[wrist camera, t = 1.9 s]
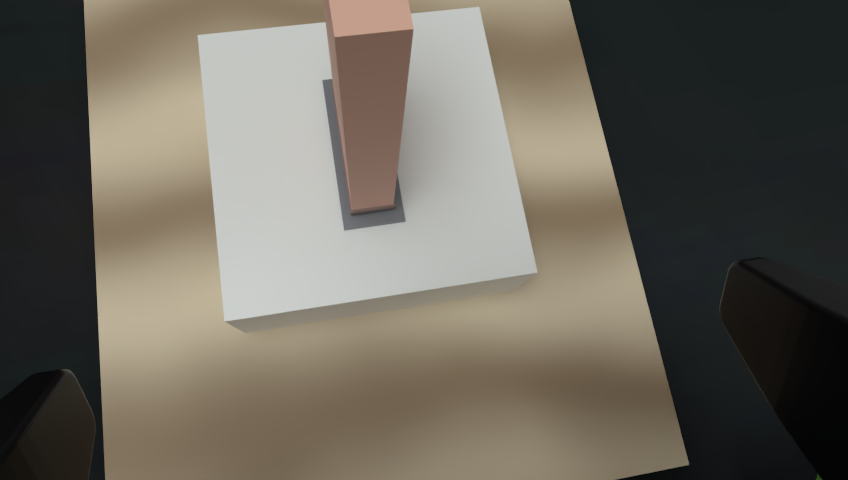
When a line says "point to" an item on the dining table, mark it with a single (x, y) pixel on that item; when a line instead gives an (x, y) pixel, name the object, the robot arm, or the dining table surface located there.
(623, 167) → the dining table surface
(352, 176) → the salmon pink flat block
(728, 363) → the dining table surface
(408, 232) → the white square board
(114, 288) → the base board
